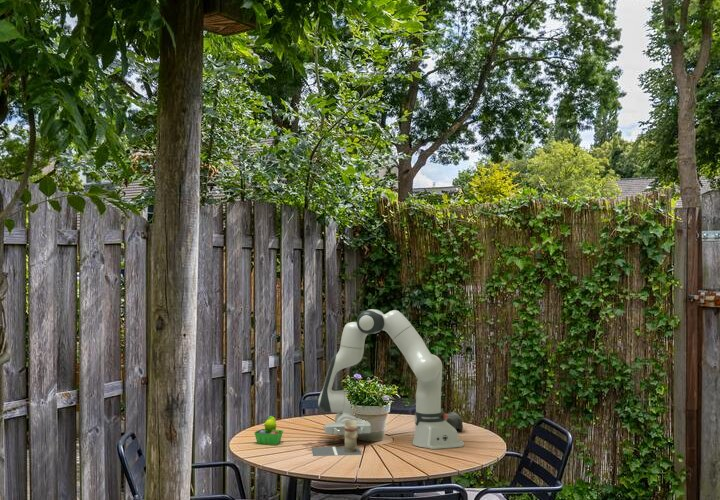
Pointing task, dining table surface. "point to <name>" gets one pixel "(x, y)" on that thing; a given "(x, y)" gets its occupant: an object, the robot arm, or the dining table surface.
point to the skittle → (350, 436)
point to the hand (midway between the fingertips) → (349, 432)
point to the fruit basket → (269, 433)
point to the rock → (454, 420)
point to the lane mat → (333, 451)
